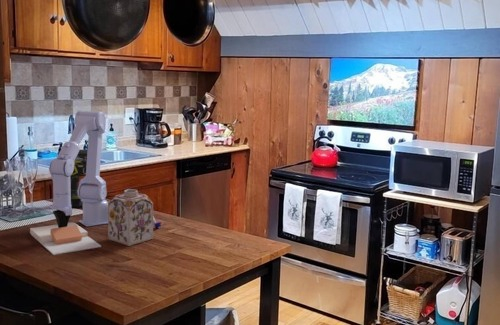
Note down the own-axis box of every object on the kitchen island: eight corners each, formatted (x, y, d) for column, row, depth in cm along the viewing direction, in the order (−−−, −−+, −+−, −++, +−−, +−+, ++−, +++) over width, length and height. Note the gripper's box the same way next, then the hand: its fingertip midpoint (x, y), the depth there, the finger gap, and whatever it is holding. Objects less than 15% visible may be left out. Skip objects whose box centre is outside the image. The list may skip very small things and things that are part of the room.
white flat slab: (74, 227, 199) (73, 222, 199) (87, 237, 189) (87, 231, 188) (30, 233, 190) (29, 228, 189) (41, 244, 179) (41, 238, 179)
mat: (88, 237, 188) (88, 236, 188) (101, 246, 179) (101, 245, 179) (42, 244, 179) (42, 243, 178) (53, 255, 169) (53, 253, 169)
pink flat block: (75, 229, 187) (76, 225, 187) (81, 240, 184) (82, 235, 183) (50, 233, 182) (50, 228, 181) (55, 244, 178) (56, 239, 177)
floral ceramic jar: (132, 232, 196) (132, 185, 193) (154, 239, 190) (154, 190, 187) (106, 239, 187) (106, 190, 184) (128, 246, 180) (128, 195, 177)
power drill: (99, 207, 229) (99, 151, 225) (59, 208, 226) (58, 150, 222) (101, 202, 238) (101, 148, 234) (62, 202, 235) (61, 147, 231)
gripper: (43, 190, 186) (44, 226, 188) (57, 198, 175) (57, 237, 177) (63, 188, 190) (64, 224, 193) (77, 196, 179) (78, 234, 181)
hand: (62, 230), depth 185 cm, fingers closed
